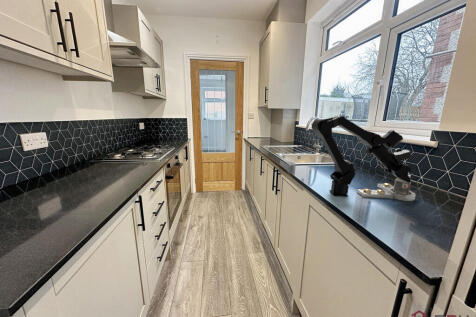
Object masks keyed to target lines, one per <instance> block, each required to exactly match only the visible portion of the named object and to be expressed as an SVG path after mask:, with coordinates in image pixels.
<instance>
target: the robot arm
mask: <svg viewBox="0 0 476 317" xmlns="http://www.w3.org/2000/svg"><path fill="white" fill-rule="evenodd" d="M337 127H340V128H341V129H343V130H344V131H346V132H348V133H349V134H351V135H353V136H354V137H356V138H357V139H358V141H359V142H360V143H361V144H362V145H364V146H368V147H367V148H366V150H365V155H373V156H374V157H375V158H376V160H377V162H379V165H378V166H379V167H381V169H383V170H385V171H386V172H388V173H390V174H392V175H393V176H394V177H396V178H400V179H402V180H404V181H406V182H408V183H410V182H411V183H412V181H411V180H412V179H411V178H409V176H408V175H409V174H408V173H410V172H411V171H413V168H412V167H411V166H410V165H408V164H407V163H403V161H404V160H409V159H410V160H411V159H412V158H413V155H412V153H411V151H410V150H408V149H401V148H399V147H398V148H396V149H394V152H393V153H392V152H391V151H390V150H389V149H393V148H394V147H396V146H397V145H398V144H400V142H402V141H403V140H404V137H403V136H402V135H401V134H400V133H398V132H396V130H394V129H390V130H388V131H387V133H385V134H384V135H383V136H382V135H380V134H378V133H375V132H374V131H369V130H366V129H364V128H362V127H361V126H359V125H357V124H356V123H354V122H353V121H352V120H349V119H348V118H346V117H345V116H344V115H335V116H331V117H328V118H325V119H324V118H323V119H322V118H321V119H319V118H317V119H314V121H312V123H311V130H312V131H313V132H314V133H315V134H316V135H317V136H318V137H319V138H320V139H321V141H322V143H323V144H324V146H325V148H326V150H327V152H328V154H329V156H330V158H331V159H332V162H333V163H334V171H333V172H332V173H331V174H330V175H329V176H330V179H331V187H330V189H329V192H330V193H331V194H332V195H333V196H335V197H349V189H350V188H349V187H350V185H351V183H352V181H353V179H354V178H355V176H356V169H355V168H354V165H353V163H351V162H349V161H347V160H345V159H344V157H343V154H342V152H341V150H340V149H339V147H338V143H336V141H335V138H334V136H333V129H334V128H337Z"/></svg>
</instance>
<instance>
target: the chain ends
mask: <svg viewBox="0 0 476 317" xmlns="http://www.w3.org/2000/svg"><path fill="white" fill-rule="evenodd" d="M376 187H377V189H370V188H363V189H359V188H358V189H357V191H356V193H358V194H359V195H360V196H361V197H362V198H376V199H377V198H378V199H396V200H400V201H405V202H413V201H415V199H416V193H415V192H413V191H412V190H409V194H408V195H404V194H399V193H395V192H393V188H394V185H392V184H391V183H390V182H389V183H388V182H387V183H386V182H383V183H377V186H376Z"/></svg>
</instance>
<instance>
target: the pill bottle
mask: <svg viewBox="0 0 476 317" xmlns="http://www.w3.org/2000/svg"><path fill="white" fill-rule="evenodd" d="M408 176H409V178H410V179H411V176H412V175H411V174H408ZM411 183H412V181H411V182H410V183H408V182H406V181H404V180H402V179H400V178H397V177H396V178H395V179H394V185H393V187H394V188H393V192H395V193H399V194H404V195H408V194H409V191H410V190H411V189H410V188H411Z"/></svg>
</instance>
